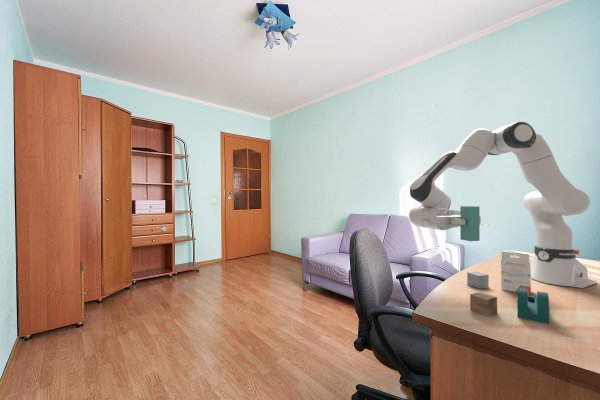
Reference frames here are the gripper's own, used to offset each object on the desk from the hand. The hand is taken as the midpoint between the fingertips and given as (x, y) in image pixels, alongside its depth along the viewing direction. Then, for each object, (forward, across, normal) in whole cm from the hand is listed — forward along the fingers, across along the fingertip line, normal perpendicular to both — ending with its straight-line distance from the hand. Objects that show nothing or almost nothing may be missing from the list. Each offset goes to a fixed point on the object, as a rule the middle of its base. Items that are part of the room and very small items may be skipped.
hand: (472, 222), depth 91 cm
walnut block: (+9, -6, +27) cm, 29 cm away
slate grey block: (-10, +14, +27) cm, 32 cm away
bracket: (+13, +9, +27) cm, 31 cm away
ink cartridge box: (-2, +23, +27) cm, 36 cm away
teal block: (-1, 0, +6) cm, 7 cm away
